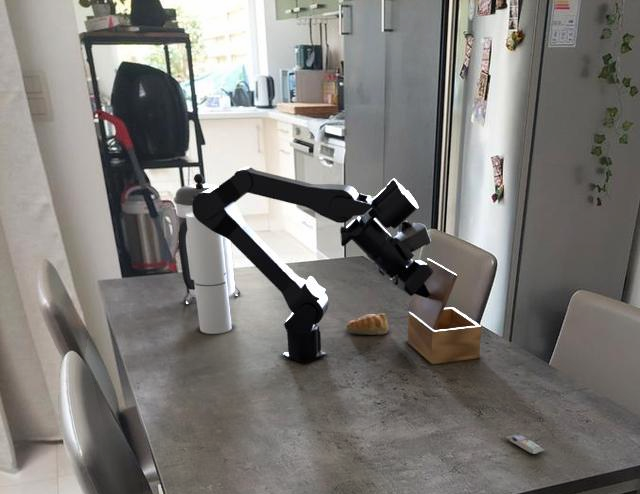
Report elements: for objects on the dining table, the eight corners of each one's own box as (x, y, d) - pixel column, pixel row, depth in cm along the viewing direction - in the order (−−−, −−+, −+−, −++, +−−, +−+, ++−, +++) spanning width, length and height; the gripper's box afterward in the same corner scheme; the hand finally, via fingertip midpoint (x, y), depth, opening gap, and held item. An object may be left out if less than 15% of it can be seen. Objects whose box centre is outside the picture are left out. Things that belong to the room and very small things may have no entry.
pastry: (349, 337, 155) (349, 320, 153) (343, 328, 161) (343, 311, 159) (390, 334, 157) (390, 317, 155) (382, 325, 162) (383, 309, 160)
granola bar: (544, 453, 109) (545, 447, 108) (533, 457, 108) (534, 451, 107) (515, 436, 114) (516, 430, 113) (505, 439, 113) (505, 434, 112)
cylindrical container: (235, 324, 163) (223, 211, 150) (226, 334, 157) (214, 217, 144) (205, 323, 163) (191, 210, 150) (196, 333, 157) (181, 217, 144)
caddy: (451, 337, 155) (453, 307, 152) (479, 358, 144) (481, 326, 141) (407, 342, 152) (408, 311, 149) (432, 364, 141) (433, 331, 138)
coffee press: (173, 296, 182) (155, 172, 167) (232, 288, 188) (220, 168, 173) (188, 314, 169) (170, 181, 153) (251, 306, 175) (240, 177, 159)
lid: (429, 259, 144) (426, 257, 144) (457, 275, 133) (454, 274, 133) (409, 310, 149) (406, 309, 148) (435, 330, 138) (432, 329, 137)
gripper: (425, 219, 123) (476, 276, 132) (388, 201, 138) (436, 254, 147) (382, 267, 125) (435, 321, 134) (351, 245, 140) (400, 295, 149)
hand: (427, 295), depth 141 cm, fingers closed
